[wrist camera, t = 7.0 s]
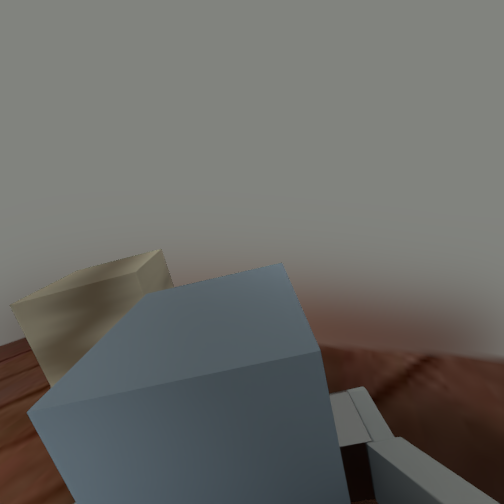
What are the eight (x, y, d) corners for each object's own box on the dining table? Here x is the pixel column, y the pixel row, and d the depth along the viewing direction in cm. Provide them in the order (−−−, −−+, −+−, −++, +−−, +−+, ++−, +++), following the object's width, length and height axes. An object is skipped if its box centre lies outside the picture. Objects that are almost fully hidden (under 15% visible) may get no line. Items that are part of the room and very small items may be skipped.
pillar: (207, 741, 6) (26, 412, 4) (225, 511, 10) (146, 293, 8) (392, 716, 6) (320, 351, 4) (332, 492, 10) (282, 262, 8)
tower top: (53, 391, 13) (9, 305, 12) (103, 332, 19) (77, 270, 18) (167, 357, 14) (135, 271, 12) (181, 310, 19) (161, 248, 18)
